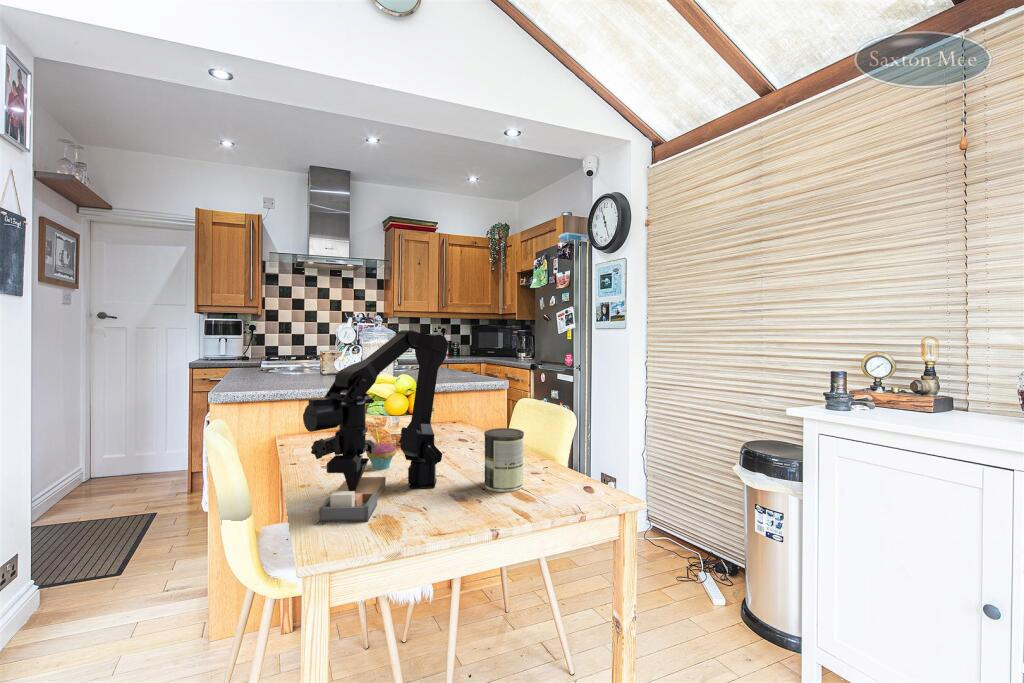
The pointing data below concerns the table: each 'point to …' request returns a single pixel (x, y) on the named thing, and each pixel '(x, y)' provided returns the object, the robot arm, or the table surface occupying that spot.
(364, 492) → the walnut board
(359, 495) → the terracotta tile
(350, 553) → the table surface
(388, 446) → the cupcake
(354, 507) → the tray
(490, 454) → the coffee can
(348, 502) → the cream tile
